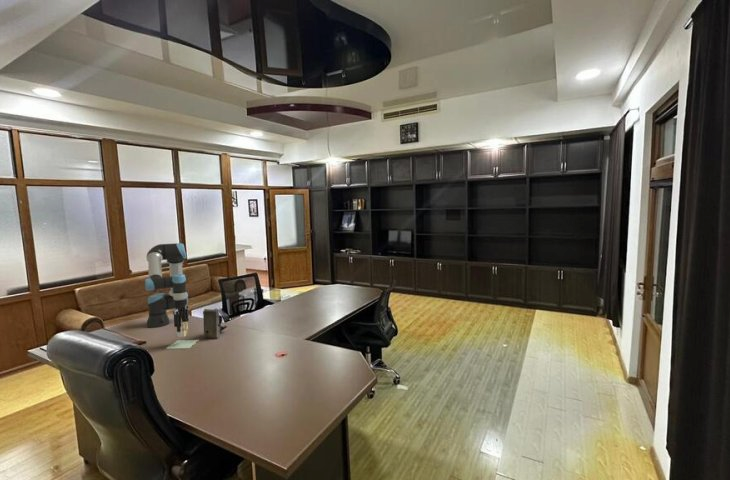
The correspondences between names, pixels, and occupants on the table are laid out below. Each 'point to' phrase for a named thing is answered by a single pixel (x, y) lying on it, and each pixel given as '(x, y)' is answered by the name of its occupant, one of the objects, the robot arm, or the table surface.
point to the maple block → (183, 329)
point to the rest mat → (182, 344)
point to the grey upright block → (212, 323)
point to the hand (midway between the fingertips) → (182, 334)
